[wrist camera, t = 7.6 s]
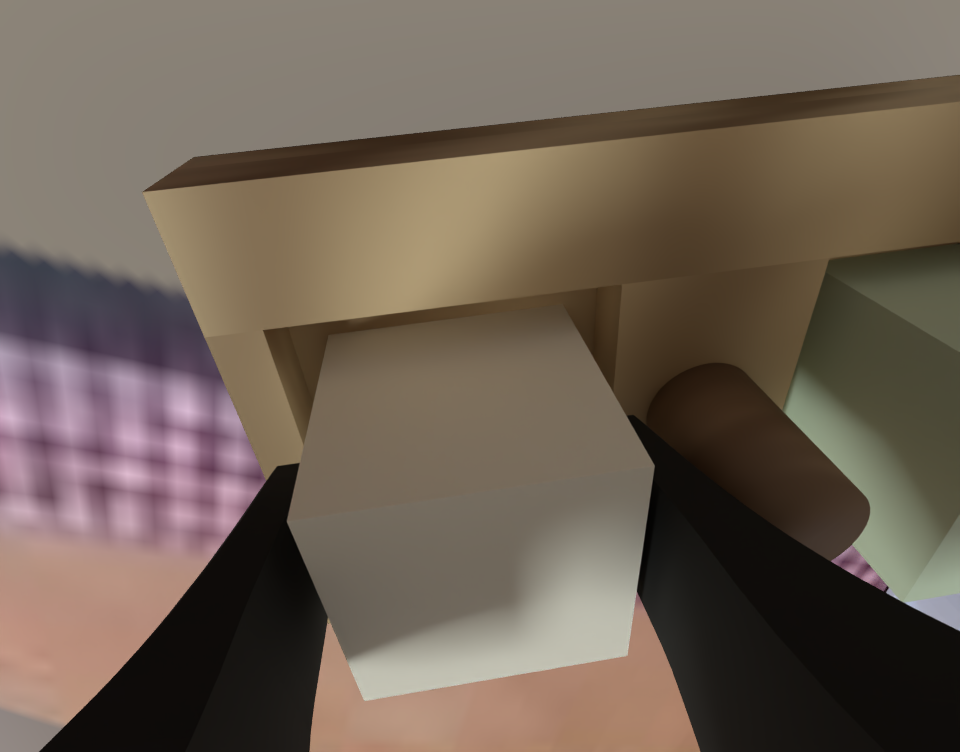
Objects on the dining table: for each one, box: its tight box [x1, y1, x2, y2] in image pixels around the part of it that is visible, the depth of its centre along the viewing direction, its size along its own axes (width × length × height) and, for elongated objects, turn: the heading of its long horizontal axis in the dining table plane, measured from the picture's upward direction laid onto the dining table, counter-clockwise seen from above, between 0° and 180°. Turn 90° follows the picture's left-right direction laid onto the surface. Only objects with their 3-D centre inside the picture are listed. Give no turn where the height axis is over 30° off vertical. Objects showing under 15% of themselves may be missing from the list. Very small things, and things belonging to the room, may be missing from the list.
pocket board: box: [142, 75, 960, 624], centre depth 11 cm, size 19×12×6 cm, turn 95°
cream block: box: [287, 304, 655, 701], centre depth 11 cm, size 5×5×5 cm
